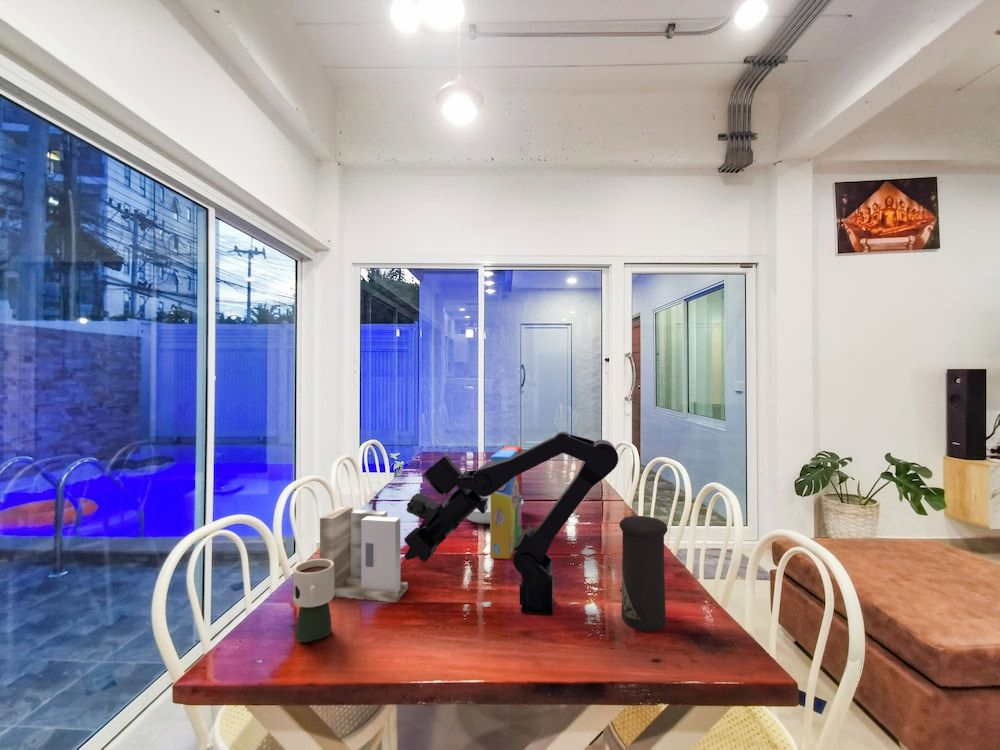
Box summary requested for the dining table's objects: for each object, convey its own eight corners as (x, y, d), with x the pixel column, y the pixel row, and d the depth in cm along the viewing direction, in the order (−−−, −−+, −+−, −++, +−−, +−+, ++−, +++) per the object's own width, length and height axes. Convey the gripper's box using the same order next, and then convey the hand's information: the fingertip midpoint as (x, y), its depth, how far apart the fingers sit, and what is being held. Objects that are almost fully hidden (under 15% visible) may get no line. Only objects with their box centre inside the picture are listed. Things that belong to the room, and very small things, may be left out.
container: (630, 605, 96) (630, 510, 97) (674, 619, 91) (673, 518, 91) (612, 622, 90) (612, 519, 90) (658, 638, 84) (657, 529, 84)
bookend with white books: (413, 582, 108) (413, 509, 108) (396, 602, 98) (396, 522, 98) (342, 576, 111) (342, 506, 111) (319, 595, 101) (319, 518, 101)
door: (400, 589, 103) (400, 517, 103) (394, 595, 99) (394, 522, 100) (367, 586, 104) (367, 516, 104) (360, 592, 101) (360, 520, 101)
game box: (510, 560, 121) (509, 457, 121) (489, 558, 122) (489, 456, 122) (522, 534, 141) (521, 445, 141) (504, 533, 142) (504, 445, 142)
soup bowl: (443, 515, 161) (443, 496, 161) (505, 507, 171) (505, 489, 171) (467, 537, 139) (467, 515, 139) (536, 526, 149) (536, 505, 149)
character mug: (295, 624, 89) (295, 557, 89) (334, 618, 91) (334, 552, 91) (290, 656, 79) (290, 580, 79) (334, 648, 81) (334, 574, 81)
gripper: (442, 474, 109) (398, 517, 111) (414, 493, 91) (362, 545, 93) (474, 509, 108) (429, 552, 110) (452, 535, 90) (398, 587, 91)
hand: (406, 557), depth 101 cm, fingers closed
